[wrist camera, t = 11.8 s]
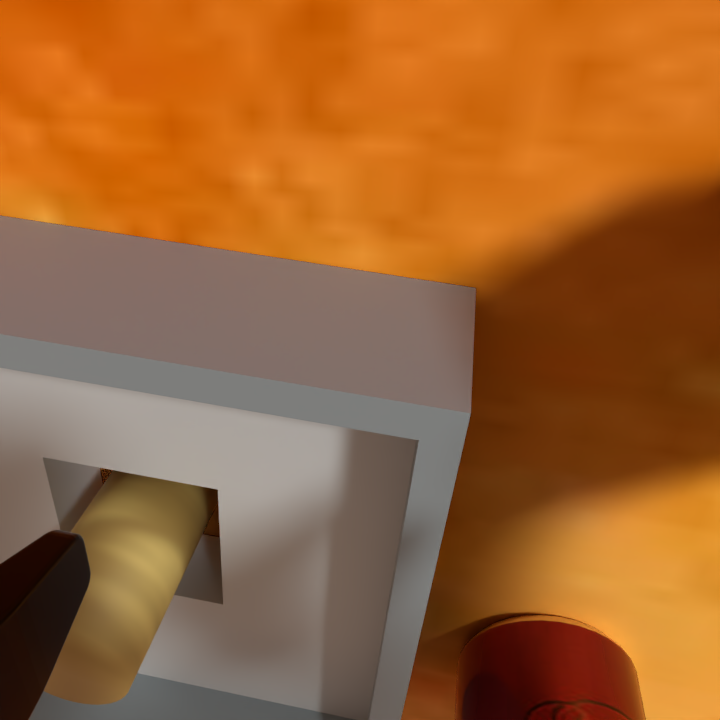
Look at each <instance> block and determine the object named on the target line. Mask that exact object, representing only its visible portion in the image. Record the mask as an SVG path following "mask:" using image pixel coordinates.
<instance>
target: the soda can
mask: <svg viewBox="0 0 720 720" xmlns="http://www.w3.org/2000/svg"><path fill="white" fill-rule="evenodd" d="M455 720H646V718H645V713H644V708H643V702H642V697H641V692H640V687H639V682H638V677H637V672H636V669H635V667H634V665H633V663H632V660H631V658H630V657H629V656H628V655H627V653H626V652H625V651H624V650H623V649H622V648H621V646H619V645H618V644H617V643H615V642H614V641H613V640H612V639H610V638H609V637H608V636H606V635H605V634H604V633H602V632H601V631H599V630H597V629H595V628H593V627H591V626H589V625H587V624H584V623H581V622H578V621H575V620H573V619H568V618H563V617H558V616H549V615H524V616H518V617H512V618H508V619H505V620H502V621H499V622H496V623H494V624H492V625H490V626H488V627H486V628H484V629H483V630H482V631H480V632H479V633H478V634H477V635H475V636H474V637H473V638H472V639H471V640H469V641H468V643H467V644H466V646H465V647H464V648H463V650H462V651H461V654H460V657H459V659H458V663H457V681H456V703H455Z"/></svg>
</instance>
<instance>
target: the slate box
mask: <svg viewBox="0 0 720 720" xmlns="http://www.w3.org/2000/svg"><path fill="white" fill-rule="evenodd" d="M475 303H476V288H473V287H466V286H460V285H453V284H447V283H440V282H433V281H427V280H420V279H414V278H407V277H400V276H394V275H387V274H381V273H374V272H368V271H361V270H354V269H348V268H341V267H335V266H328V265H322V264H315V263H308V262H302V261H295V260H289V259H282V258H275V257H269V256H262V255H256V254H249V253H243V252H236V251H229V250H223V249H216V248H210V247H203V246H196V245H190V244H183V243H177V242H170V241H164V240H157V239H150V238H144V237H137V236H131V235H124V234H118V233H111V232H104V231H98V230H91V229H85V228H78V227H71V226H65V225H58V224H52V223H45V222H39V221H32V220H25V219H19V218H12V217H6V216H0V564H1V563H2V562H4V561H5V560H7V559H8V558H10V557H11V556H13V555H14V554H15V553H17V552H18V551H20V550H21V549H23V548H24V547H26V546H27V545H29V544H30V543H32V542H33V541H35V540H36V539H38V538H39V537H41V536H42V535H44V534H46V533H47V532H50V531H52V530H61V531H66V532H71V530H72V529H73V527H74V526H75V524H76V523H77V522H78V520H79V519H80V517H81V516H82V514H83V513H84V511H85V510H86V509H87V507H88V506H89V504H90V503H91V501H92V500H93V498H94V497H95V496H96V494H97V493H98V491H99V490H100V488H101V487H102V485H103V482H102V477H101V471H100V468H104V469H110V470H115V471H120V472H126V473H131V474H137V475H142V476H147V477H153V478H158V479H164V480H169V481H174V482H180V483H185V484H191V485H196V486H201V487H207V488H212V489H218V506H219V526H220V537H215V536H210V535H204V534H203V535H202V537H201V539H200V541H199V543H198V545H197V547H196V549H195V552H194V554H193V556H192V558H191V560H190V562H189V564H188V566H187V569H186V571H185V573H184V575H183V577H182V579H181V581H180V583H179V586H178V588H177V590H176V592H175V594H174V596H173V598H172V600H171V602H170V605H169V607H168V609H167V611H166V613H165V615H164V617H163V619H162V622H161V624H160V626H159V628H158V630H157V632H156V634H155V636H154V639H153V641H152V643H151V645H150V647H149V649H148V651H147V653H146V655H145V658H144V660H143V662H142V664H141V666H140V668H139V670H138V672H137V675H136V677H135V679H134V681H133V683H132V685H131V687H130V689H129V691H128V693H127V694H126V696H125V697H123V698H122V699H121V700H119V701H116V702H113V703H109V704H101V705H91V704H82V703H77V702H72V701H68V700H65V699H62V698H59V697H56V696H53V695H51V694H49V693H46V692H44V691H43V693H42V695H41V697H40V699H39V701H38V703H37V705H36V707H35V709H34V711H33V712H32V714H31V716H30V718H29V720H401V716H402V712H403V708H404V703H405V699H406V695H407V690H408V686H409V682H410V677H411V673H412V668H413V664H414V660H415V655H416V651H417V647H418V642H419V638H420V633H421V629H422V625H423V620H424V616H425V612H426V607H427V603H428V599H429V594H430V590H431V585H432V581H433V577H434V572H435V568H436V564H437V559H438V555H439V550H440V546H441V542H442V537H443V533H444V529H445V524H446V520H447V516H448V511H449V507H450V502H451V498H452V494H453V489H454V485H455V481H456V476H457V472H458V467H459V463H460V459H461V454H462V450H463V446H464V441H465V437H466V433H467V428H468V424H469V419H470V415H471V398H472V375H473V351H474V327H475Z"/></svg>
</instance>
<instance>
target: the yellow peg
mask: <svg viewBox="0 0 720 720" xmlns="http://www.w3.org/2000/svg"><path fill="white" fill-rule="evenodd" d="M217 503H218V489H212V488H207V487H201V486H196V485H191V484H185V483H180V482H174V481H169V480H164V479H158V478H153V477H147V476H142V475H137V474H131V473H126V472H120V471H115V470H113V471H112V472H111V474H110V475H109V477H108V478H107V480H106V481H105V482H104V484H103V485H102V487H101V488H100V490H99V491H98V493H97V494H96V496H95V497H94V498H93V500H92V501H91V503H90V504H89V506H88V507H87V509H86V510H85V511H84V513H83V514H82V516H81V517H80V519H79V520H78V522H77V523H76V524H75V526H74V527H73V529H72V530H71V532H72V533H77V534H80V535H81V536H82V538H83V539H84V543H85V547H86V552H87V557H88V561H89V566H90V571H91V576H90V582H89V586H88V589H87V591H86V594H85V596H84V598H83V601H82V603H81V605H80V608H79V610H78V612H77V615H76V617H75V619H74V622H73V624H72V626H71V629H70V631H69V634H68V636H67V638H66V641H65V643H64V645H63V648H62V650H61V652H60V655H59V657H58V659H57V662H56V664H55V666H54V669H53V671H52V673H51V676H50V678H49V680H48V682H47V685H46V687H45V689H44V692H46V693H49V694H51V695H53V696H56V697H59V698H62V699H65V700H68V701H72V702H77V703H82V704H91V705H101V704H109V703H113V702H116V701H119V700H121V699H122V698H123V697H125V696H126V694H127V693H128V691H129V689H130V687H131V685H132V683H133V681H134V679H135V677H136V675H137V672H138V670H139V668H140V666H141V664H142V662H143V660H144V658H145V655H146V653H147V651H148V649H149V647H150V645H151V643H152V641H153V639H154V636H155V634H156V632H157V630H158V628H159V626H160V624H161V622H162V619H163V617H164V615H165V613H166V611H167V609H168V607H169V605H170V602H171V600H172V598H173V596H174V594H175V592H176V590H177V588H178V586H179V583H180V581H181V579H182V577H183V575H184V573H185V571H186V569H187V566H188V564H189V562H190V560H191V558H192V556H193V554H194V552H195V549H196V547H197V545H198V543H199V541H200V539H201V537H202V535H203V533H204V530H205V528H206V526H207V524H208V522H209V520H210V518H211V516H212V513H213V511H214V509H215V507H216V505H217Z"/></svg>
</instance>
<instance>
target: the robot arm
mask: <svg viewBox="0 0 720 720" xmlns="http://www.w3.org/2000/svg"><path fill="white" fill-rule="evenodd" d="M90 576H91V571H90V566H89V561H88V557H87V552H86V547H85V543H84V539H83V538H82V536H81V535H80V534H77V533H72V532H66V531H61V530H52V531H50V532H47V533H46V534H44V535H42V536H41V537H39V538H38V539H36V540H35V541H33V542H32V543H30V544H29V545H27V546H26V547H24V548H23V549H21V550H20V551H18V552H17V553H15V554H14V555H13V556H11V557H10V558H8V559H7V560H5V561H4V562H2V563H1V564H0V720H29V718H30V716H31V714H32V712H33V711H34V709H35V707H36V705H37V703H38V701H39V699H40V697H41V695H42V693H43V691H44V689H45V687H46V685H47V682H48V680H49V678H50V676H51V673H52V671H53V669H54V666H55V664H56V662H57V659H58V657H59V655H60V652H61V650H62V648H63V645H64V643H65V641H66V638H67V636H68V634H69V631H70V629H71V626H72V624H73V622H74V619H75V617H76V615H77V612H78V610H79V608H80V605H81V603H82V601H83V598H84V596H85V594H86V591H87V589H88V586H89V582H90Z"/></svg>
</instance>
